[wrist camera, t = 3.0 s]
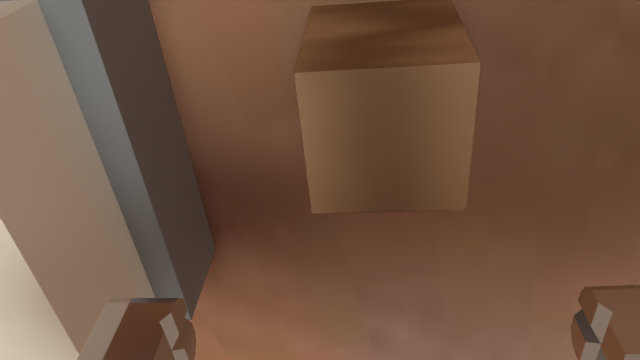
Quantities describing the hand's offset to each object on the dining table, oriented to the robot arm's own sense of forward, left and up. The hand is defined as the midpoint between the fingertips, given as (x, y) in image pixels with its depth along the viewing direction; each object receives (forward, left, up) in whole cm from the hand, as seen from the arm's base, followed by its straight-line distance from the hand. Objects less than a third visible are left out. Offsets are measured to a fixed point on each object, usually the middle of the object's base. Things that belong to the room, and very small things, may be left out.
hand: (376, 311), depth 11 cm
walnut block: (0, 0, -12) cm, 12 cm away
